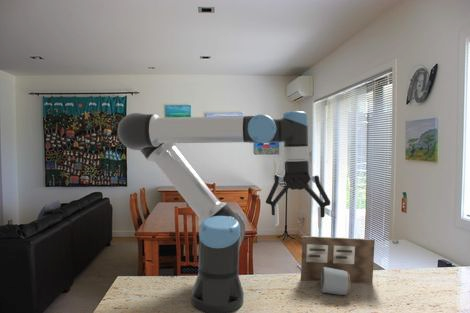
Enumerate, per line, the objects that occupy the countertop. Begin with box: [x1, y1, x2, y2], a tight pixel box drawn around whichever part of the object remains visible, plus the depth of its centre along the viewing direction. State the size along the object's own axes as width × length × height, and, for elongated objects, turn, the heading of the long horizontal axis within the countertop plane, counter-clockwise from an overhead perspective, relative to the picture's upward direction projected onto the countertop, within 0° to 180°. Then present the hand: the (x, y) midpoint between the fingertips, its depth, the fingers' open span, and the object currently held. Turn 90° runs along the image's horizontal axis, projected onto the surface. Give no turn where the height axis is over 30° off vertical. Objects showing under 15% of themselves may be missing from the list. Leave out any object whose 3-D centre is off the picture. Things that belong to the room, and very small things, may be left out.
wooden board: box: [300, 235, 376, 285], centre depth 107 cm, size 24×1×15 cm, turn 88°
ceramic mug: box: [320, 267, 351, 296], centre depth 101 cm, size 11×8×8 cm
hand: (297, 226), depth 102 cm, fingers open, 13 cm apart
